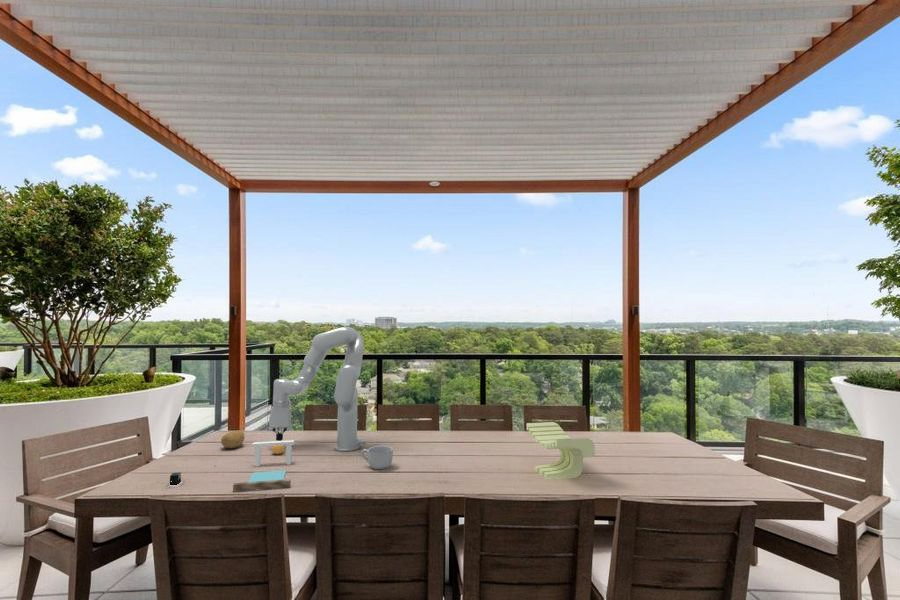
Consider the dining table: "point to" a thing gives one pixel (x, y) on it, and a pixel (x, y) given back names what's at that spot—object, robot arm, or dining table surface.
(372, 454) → the teacup
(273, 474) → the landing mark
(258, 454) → the bridge
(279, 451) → the ball
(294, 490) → the dining table surface
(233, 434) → the potato
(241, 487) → the stopper
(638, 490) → the dining table surface
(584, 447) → the green ribbed curved stand
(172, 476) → the black angular piece
